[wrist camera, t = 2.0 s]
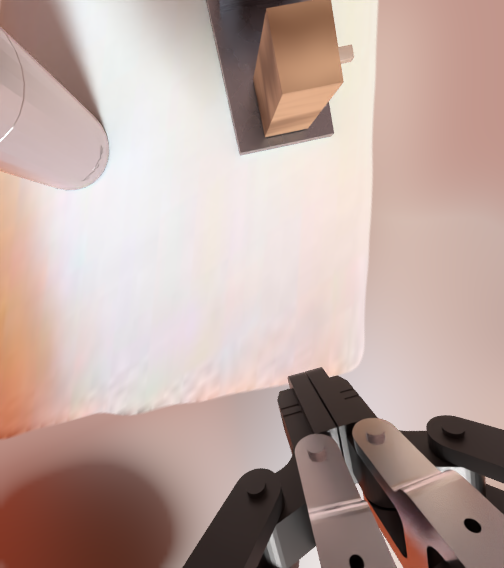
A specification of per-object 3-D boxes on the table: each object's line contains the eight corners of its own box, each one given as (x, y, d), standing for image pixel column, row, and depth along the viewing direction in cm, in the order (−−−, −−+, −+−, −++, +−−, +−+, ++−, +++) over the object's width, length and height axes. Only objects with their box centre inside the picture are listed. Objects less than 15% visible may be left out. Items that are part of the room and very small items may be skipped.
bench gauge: (330, 136, 35) (379, 90, 24) (240, 155, 34) (247, 116, 23) (303, -28, 32) (344, -165, 21) (203, -11, 31) (193, -142, 20)
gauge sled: (326, 124, 33) (369, 76, 23) (264, 137, 33) (282, 94, 23) (316, 66, 32) (357, -9, 22) (253, 79, 32) (266, 8, 22)
